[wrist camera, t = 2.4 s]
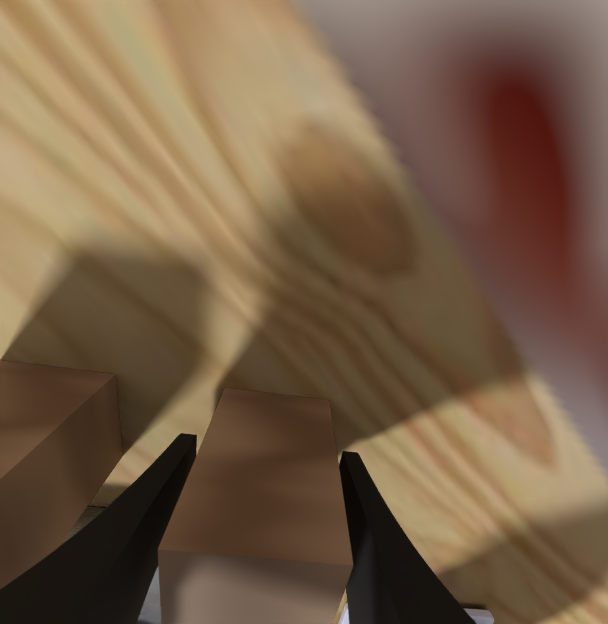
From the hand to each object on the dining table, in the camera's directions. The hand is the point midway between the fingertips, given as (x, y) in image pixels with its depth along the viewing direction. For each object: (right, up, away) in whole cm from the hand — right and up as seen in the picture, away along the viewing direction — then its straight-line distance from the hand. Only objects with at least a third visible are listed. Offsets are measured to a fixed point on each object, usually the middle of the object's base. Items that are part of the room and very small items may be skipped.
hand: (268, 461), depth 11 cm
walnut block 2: (0, +1, +1) cm, 2 cm away
